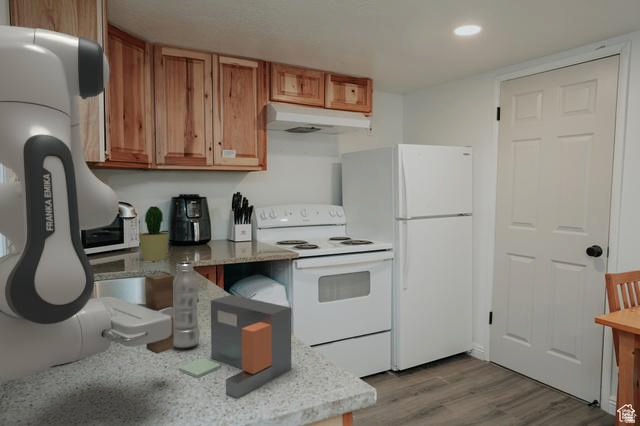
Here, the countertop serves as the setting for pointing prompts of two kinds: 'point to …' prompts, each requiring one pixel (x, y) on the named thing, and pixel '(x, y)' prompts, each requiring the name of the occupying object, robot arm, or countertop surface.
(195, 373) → the pad
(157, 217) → the potted cactus
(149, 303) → the peg
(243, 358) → the plunger
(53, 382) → the countertop surface
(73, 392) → the countertop surface
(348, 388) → the countertop surface
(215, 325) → the box
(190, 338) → the plastic bottle
